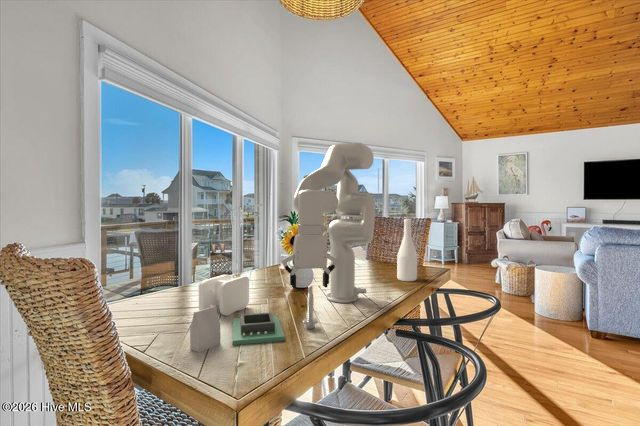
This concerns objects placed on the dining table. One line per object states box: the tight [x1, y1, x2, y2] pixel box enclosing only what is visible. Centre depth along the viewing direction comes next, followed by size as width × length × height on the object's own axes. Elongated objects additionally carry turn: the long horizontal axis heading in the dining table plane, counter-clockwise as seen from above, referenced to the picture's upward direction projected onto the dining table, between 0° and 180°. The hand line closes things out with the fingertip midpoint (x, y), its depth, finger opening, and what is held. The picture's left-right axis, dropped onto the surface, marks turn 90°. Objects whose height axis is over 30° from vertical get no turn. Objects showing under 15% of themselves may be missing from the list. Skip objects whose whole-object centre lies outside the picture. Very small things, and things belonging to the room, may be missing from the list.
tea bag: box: [189, 306, 221, 353], centre depth 93 cm, size 4×7×10 cm, turn 145°
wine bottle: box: [396, 218, 418, 282], centre depth 172 cm, size 10×10×30 cm
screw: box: [302, 285, 319, 330], centre depth 107 cm, size 13×5×5 cm
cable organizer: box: [198, 274, 250, 317], centre depth 123 cm, size 15×11×12 cm
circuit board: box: [232, 312, 286, 346], centre depth 104 cm, size 14×18×4 cm
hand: (309, 287), depth 106 cm, fingers open, 9 cm apart
